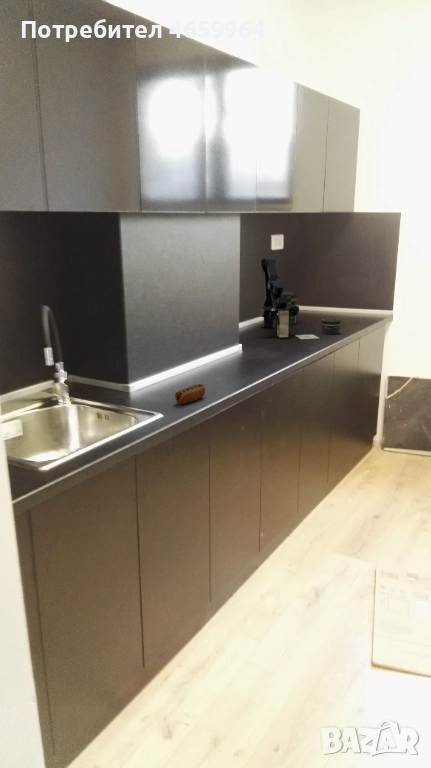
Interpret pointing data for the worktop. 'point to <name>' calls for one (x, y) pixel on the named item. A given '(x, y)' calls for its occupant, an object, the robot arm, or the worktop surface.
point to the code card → (306, 336)
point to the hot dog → (190, 393)
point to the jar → (330, 326)
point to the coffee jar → (291, 304)
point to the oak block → (283, 323)
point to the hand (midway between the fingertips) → (283, 324)
